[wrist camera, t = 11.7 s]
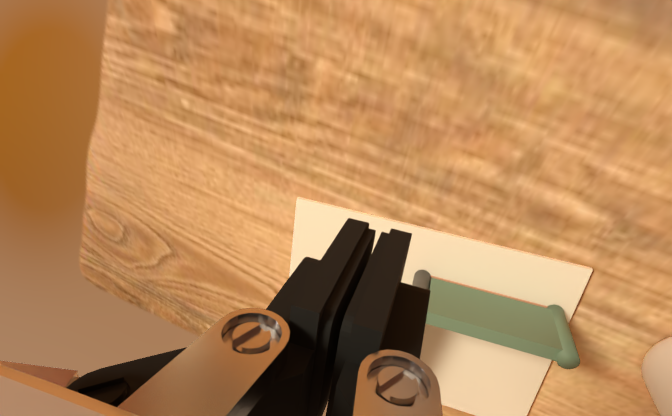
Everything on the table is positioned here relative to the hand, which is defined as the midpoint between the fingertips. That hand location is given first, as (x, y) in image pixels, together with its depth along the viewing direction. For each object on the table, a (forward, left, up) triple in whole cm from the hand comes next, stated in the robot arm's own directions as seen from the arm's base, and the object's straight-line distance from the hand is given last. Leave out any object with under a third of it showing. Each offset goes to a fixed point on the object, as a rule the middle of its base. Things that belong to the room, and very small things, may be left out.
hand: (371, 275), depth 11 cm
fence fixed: (-8, +16, -27) cm, 32 cm away
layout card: (-2, +21, -27) cm, 34 cm away
